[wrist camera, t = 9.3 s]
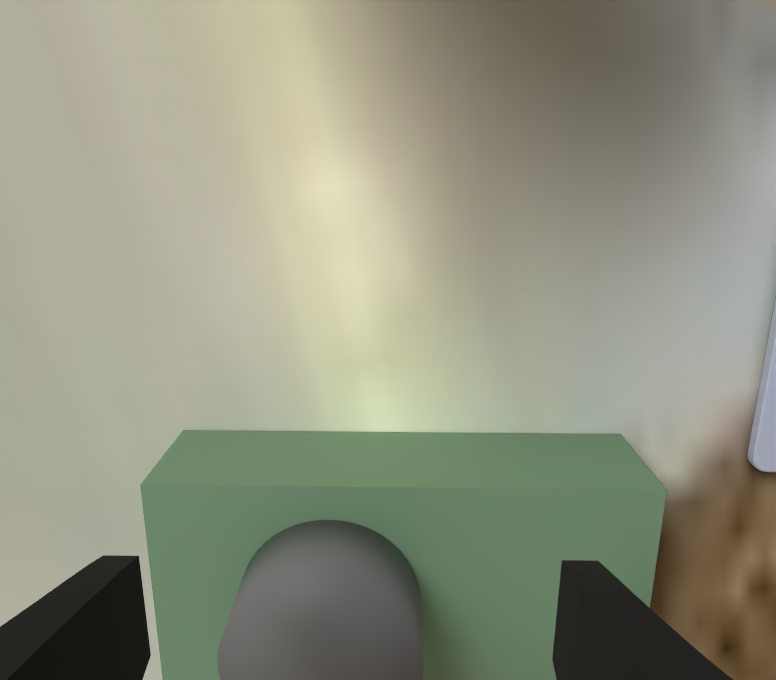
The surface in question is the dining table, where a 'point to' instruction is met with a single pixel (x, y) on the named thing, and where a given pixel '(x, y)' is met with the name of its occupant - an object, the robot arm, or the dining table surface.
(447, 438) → the green block with prongs
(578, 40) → the dining table surface
